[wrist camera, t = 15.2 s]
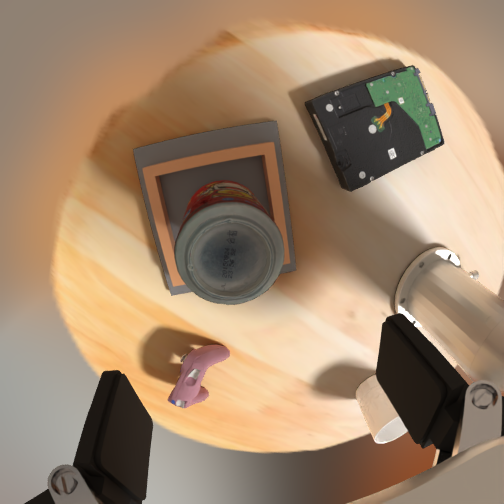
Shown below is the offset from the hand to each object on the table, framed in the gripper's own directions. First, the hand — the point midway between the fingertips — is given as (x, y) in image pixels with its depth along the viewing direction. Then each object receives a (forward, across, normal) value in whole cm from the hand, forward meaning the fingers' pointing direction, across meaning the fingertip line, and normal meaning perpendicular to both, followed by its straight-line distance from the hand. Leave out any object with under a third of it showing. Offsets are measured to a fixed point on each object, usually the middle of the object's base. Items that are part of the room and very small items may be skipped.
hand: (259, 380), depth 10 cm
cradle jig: (+22, +1, -1) cm, 22 cm away
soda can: (+22, 0, -1) cm, 22 cm away
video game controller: (+23, +8, +19) cm, 30 cm away
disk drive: (+23, -18, -8) cm, 30 cm away
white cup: (+23, -18, +33) cm, 44 cm away
